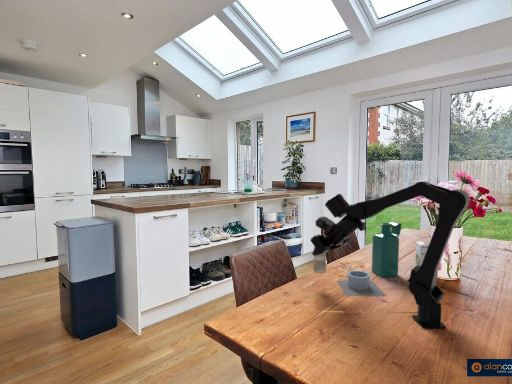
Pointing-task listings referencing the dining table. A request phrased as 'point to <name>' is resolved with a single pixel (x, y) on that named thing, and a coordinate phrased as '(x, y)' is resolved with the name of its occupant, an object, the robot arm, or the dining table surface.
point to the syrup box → (421, 251)
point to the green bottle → (386, 250)
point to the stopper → (320, 263)
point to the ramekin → (358, 280)
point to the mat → (372, 290)
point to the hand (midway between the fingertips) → (316, 253)
